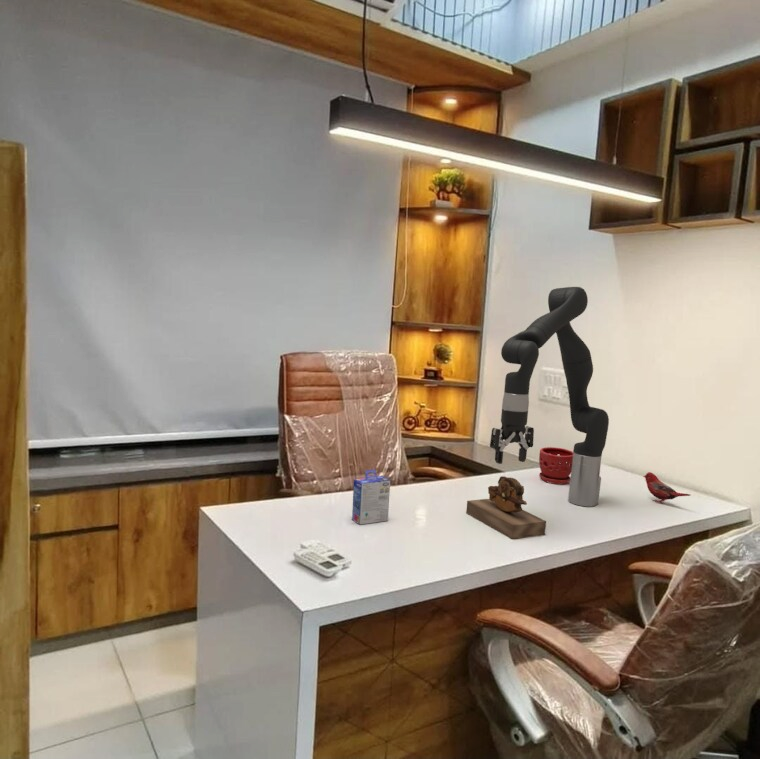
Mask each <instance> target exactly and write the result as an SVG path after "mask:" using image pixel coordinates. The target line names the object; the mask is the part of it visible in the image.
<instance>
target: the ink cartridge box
mask: <svg viewBox="0 0 760 759" xmlns="http://www.w3.org/2000/svg"><path fill="white" fill-rule="evenodd" d="M370 473H373V474H371V475H368V474H370ZM364 476H365V477H362V478H355V479H353V488H352V489H353V492H352V493H353V494H352V514H351V520H352V521H354V522H355V523H356V524H358V525H367V524H374V523H381V522H387V521H389V513H390V512H389V510H390V509H389V508H390V496H391V493H390V491H391V480H390V479H389V478H386V477H385V476H383V475H380V476H379V475H377V471H376V469H370V470H364Z"/></svg>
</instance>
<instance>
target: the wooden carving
mask: <svg viewBox="0 0 760 759" xmlns="http://www.w3.org/2000/svg"><path fill="white" fill-rule="evenodd" d="M497 484H498V485H490V486H488V487H487V489H488V494H489V498H488V499H490V501H495V503H496V505H497V506H498V507H499V508H500V509H501V510H503V511H506V512H520V511H522V510H523V508H522V506H523V505H525V506H526V505H527V504H528V503H527V501H526V500H524V499H523V497H524V496H523V495H524V493H525V487H524V486H523V485H522V484H521V483H520V482H519V481H518V479H517V478H514V477H506V476H500V477H499V479H498V481H497Z"/></svg>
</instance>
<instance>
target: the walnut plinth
mask: <svg viewBox="0 0 760 759" xmlns="http://www.w3.org/2000/svg"><path fill="white" fill-rule="evenodd" d="M465 514H467V515H469V516H470V517H472V518H474V519H475V520H477V521H479V522H481V523H482V524H484V525H486V526H488V527H489V528H491V529H493V530H495V531H497V532H498V533H500V534H502V535H504V536H505V537H507V538H509V539H510V540H517V539H523V538H530V537H531V538H532V537H537V536H544V535H545V534H546V527H547V521H546V520H545V519H543V518H541V517H538V516H536V515H535V514H532V513H531V512H528V511H527V510H524V509H522V511H520V512H506V511H503V510H501V509H500V508H499V507H498V506H497V505H496V503H495V501H490V499H489V498H482V499H471V500H467V501H466V512H465Z"/></svg>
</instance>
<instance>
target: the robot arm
mask: <svg viewBox="0 0 760 759" xmlns="http://www.w3.org/2000/svg"><path fill="white" fill-rule="evenodd" d="M588 302H589V301H588V295H587V292H586V290H585V289H584V288H582V287H581V286H567V287H558V288H553V289H551V290H550V292H549V293H548V297H547V304H548V311H549V312H547V313H545V314H543V315H541V316H539V317H538V318H536V319H535V320H534V321H533V322H531V323H530V324H529V326H527V327H526V329H523V331H520V332H518V333H517V334H515V335H513V336H511V337H509V338H508V339H507V340H505V341H504V343H503V345H502V347H501V350H500V351H501V352H500V353H501V358H502V360H503V361H504V362H506V363H508V364H512V365H513V364H514V365H520V367H519V369H518V370H517V371H510V372H508V373H506V375H505V378H504V379H505V380H504V389H503V390H504V391H503V396H502V401H501V402H502V404H501V414H500V423H501V427H500V428H496V427H492V429H491V434H490V443H489V447H490V448H491V449H493V450H495V452H494V453H495V454H494V460H495V463H496V464H499V465H500V464H501V465H502V464H503V458H504V449H505V448H506V447H507V446H508V445H509V444H512V443H517V444H518V446H519V449H518V459H517V460H518V461H519V462H521V463H525V462H526V460H527V452H528V450H529V448H533V447H534V433H535V428H534V427H531V426H529V425H527V424H528V417H529V416H528V415H529V405H530V397H529V396H530V395H529V394H530V384H531V383H530V382H531V378H532V376H533V372H534V370H535V368H536V364H537V362H538V359H539V355H540V352H539V349H541V348H542V347H543V346H545V345H546V343H548V341H549V340H550V339H551V338H553V336H554V335H555V334H556V337H557V342H558V346H559V350H560V357H561V362H562V367H563V371H564V375H565V380H566V386H567V391H568V400H569V408H570V409H569V410H570V419H571V425H572V427H573V429H575V430H576V431H578V432H580V433H583V434H585V438H584V440H583V441H582V442H581V441H580V442H577V443H574V445H573V451H572V452H573V459H572V469H571V474H570V481H569V486H568V488H569V489H568V497H567V500H568V502H569V503H571V504H572V505H577V506H579V507H580V506H581V507H595V506H596V505H598V504H599V501H600V491H601V483H602V477H601V476H600V475H601V474H600V473H601V466H602V464H601V463H602V456H603V452H604V449H605V446H606V443H607V436H608V430H609V422H610V419H609V415H608V412H606V410H605V409H603V408H599V407H594V406H590V404H589V401H588V395H587V394H588V392H587V391H588V386H589V384H590V381H591V379H592V377H593V373H594V364H593V360H592V354H591V351H590V349H589V347H588V346H587V344H586V343H585V342H584V341H583V339H582V338H581V337H580V336H579V335H578V334H577V333H576V332H575V330H574V328H573V327H572V325H571V322H572V321H573V320H574V319H576V318H578V317H579V316H581V315H583V313H584V312H585V311H586V309H587V307H588Z"/></svg>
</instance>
